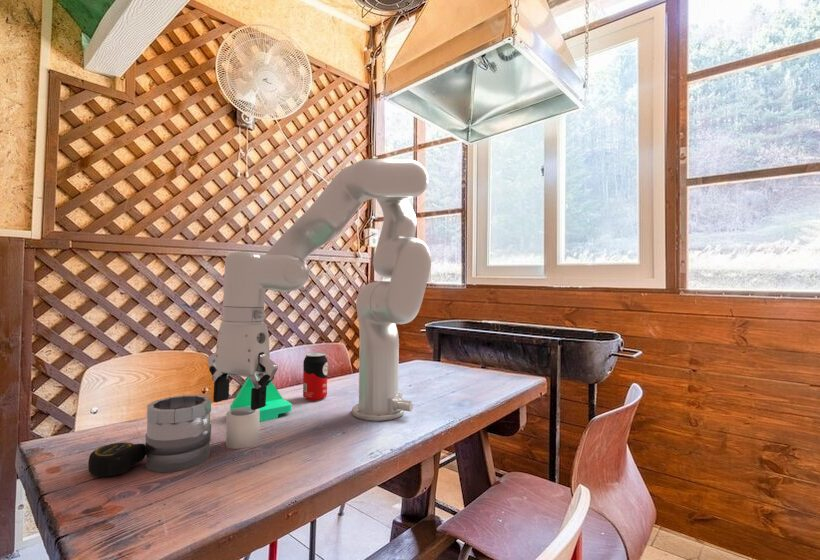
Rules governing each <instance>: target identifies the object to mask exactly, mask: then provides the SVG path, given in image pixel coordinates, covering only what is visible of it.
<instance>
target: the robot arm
mask: <svg viewBox="0 0 820 560" xmlns="http://www.w3.org/2000/svg"><path fill="white" fill-rule="evenodd" d="M428 185H429V173H428V172H427V169H426V168H425V167H424V165H423V164H422V163H420V162H419V161H417V160H414V159H410V158H409V159H407V158H406V159H405V158H401V159H400V158H396V159H395V158H393V159H392V158H370V159H369V158H368V159H362V160H360V161H359V160H358V161H357V162H355V163H352V164H350V165H348V166H346V167H344V168H342V169H340V170H339V172H337V174H336V175H335V176H334V177H333V179H331V181H330V182H329V183H328V184H327V186H326V187H325V188H324V189H323V191H322V192H321V193H320V194H319V196H318V197H317V198H316V199H315V200H314V202H313V203H312V204H311V206H309V207H308V209H307V210H306V211H305V212H303V214H302V215H301V216H300V217H299V218H298V219H297V220H296V221H295V222H294V223H293V224H292V225H291V226H290V227H289V228H288V229H287V230H286V231H285V232H284V233H283V234H282V235H281V236H280V237H279V238H278V239H277V241H276V242H275V243H274V244H273V245H272V247H271V248H270V249H269V250H268V251H267V252H266V254H265V255H264V254H261V253H256V252H244V251H234V252H233V251H232V252H230V253H228V254H227V255H226V257H225V261H224V262H225V263H224V280H223V297H222V299H223V300H222V315H221V316H222V319H221V322H220V326H219V329H218V335H217V341H216V346H215V347H216V349H215V352H214V353H212V354H211V355H208V356H207V358H206V360H207V363H208V367H209V368H208V371H209V372H210V374H211V375H212V377H211V380H212V382H213V402H214V403H218V402H224V401H226V400H228V399H229V397H230V379H229V378H228V377H229V376H230V375H231V376H235V377H245V378H248V377H250V379H251V381H252V383H253V385H254V387H255V388H252V390H251V410H256V409H259V408H262V407H265V405H266V386H269V384H270V382H271V381H272V382H273V380H274V378H275V375H276V373H277V371H278V369H279V365H278V364H277V363H276V362H274V361H273V360H272V359H271V358H270V356H271V355H270V350H271V349H270V337H269V336H270V335H269V330H268V326H267V323H264V320H265V319H266V317H267V312H266V311H265V302H266V301H265V297H266V289H267V290H269V291H277V292H289V293H290V292H293V291H297V290H299V289H301V288H302V287H304V286H305V284H306V283H307V282H308V280H309V276H310V271H309V267H308V264H307V263H306V261H305V260H306V259H307V258H308V257H309V256H310V255H311V254H313V253H314V252H315V251H316V250H317V249H319V248H321V247H323V246H324V245H326V244H328V243H330V242H331V241H333V240H334V239H335V238H337V237H339V235H340V234H341V233H342V231H343V230H344V228H345V227H346V226H347V225H348V223H349V222H350V220H351V219H352V218H353V217H354V215H355V214H356V213H357V211H358V210H359V209H360V207H361V206H362V205H363V203H365V202H367V201H370V200H372V199H373V200H374V199H376V201H377V203H378V204H379V206H380V208H381V211H382V215H383V221H382V227H381V231H380V234H379V238H378V241H377V244H376V248H375V252H374V255H373V260H372V265H373V270H374V271H375V272H376V274H378V275H379V276H380V277H383V278H387V279H390V280H389V281H374V282H370V283H367V284H366V285H364V286H362V287H361V289H360V290H359V292H358V293H357V297H356V300H355V301H356V302H355V303H356V306H355V307H356V315H357V319H358V329H359V332H358V333H359V348H358V349H359V352H358V353H359V354H358V355H359V356H358V357H359V358H358V359H359V361H358V363H359V364H358V403H355V405H353V407H352V409H351V414H352V416H354V417H356V418H357V419H360V420H366V421H374V422H375V421H377V422H378V421H389V420H394V419H398V418H400V417H401V416H403V415H404V414H405V412H411V413H412V412H413V408H414V404H413V401H412V400H408V399H404V398H403V393H402V392H399V361H400V358H399V357H400V356H399V353H400V352H399V351H400V339H399V331H398V327H397V325H405V324H409V323H411V322H412V321H413V320H414V319H415V318H416V317H417V315H418V313H419V312H420V310H421V306H422V303H423V301H424V296H425V292H426V287H427V285H428V280H429V275H430V272H431V267H432V256H431V252H430V248H429V246H428V245H427V244H426V242H425V241H423V240H422V239H421V238H418V237H415V236H416V232H417V226H418V221H417V215H416V213H415V210H414V208H413V206H412V204H411V202H410V200H409V199H413V198H417V197H418V196H421V195H422V194H423V193H424V192H425V191H426V189H427V187H428ZM265 373H266V374H265ZM257 376H259V379H258V377H257Z"/></svg>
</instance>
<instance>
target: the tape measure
mask: <svg viewBox="0 0 820 560" xmlns="http://www.w3.org/2000/svg"><path fill="white" fill-rule="evenodd" d="M146 457H147V452H146V451H145V443H132V442H126V441H123V442H122V441H121V442H114V443H110V444H107V445H106V444H105V445H103V446H101V447H97V448H96V449H94V450H93V451H92V452H91V454H90V455H89V456H88V463H87V465H88V466H87V467H88V468H87V469H88V473H89V474H90V475H91V476H94V477H99V478H102V477H108V476H110V477H111V476H118V475H121V474H124V473H125V472H127V471H128V470H129V469H131V468H132V467H134V466H135V465H137V464H138V463H140V462H142V461H143V460H145V458H146Z"/></svg>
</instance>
